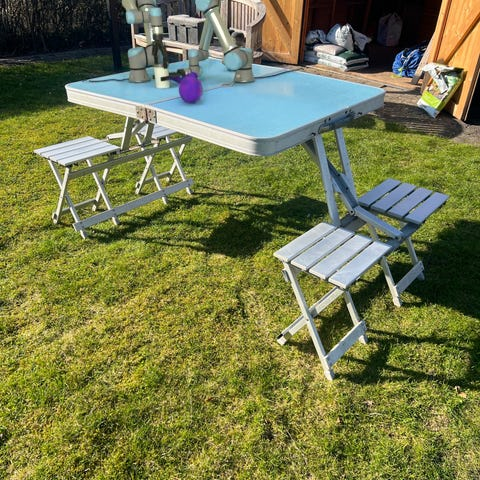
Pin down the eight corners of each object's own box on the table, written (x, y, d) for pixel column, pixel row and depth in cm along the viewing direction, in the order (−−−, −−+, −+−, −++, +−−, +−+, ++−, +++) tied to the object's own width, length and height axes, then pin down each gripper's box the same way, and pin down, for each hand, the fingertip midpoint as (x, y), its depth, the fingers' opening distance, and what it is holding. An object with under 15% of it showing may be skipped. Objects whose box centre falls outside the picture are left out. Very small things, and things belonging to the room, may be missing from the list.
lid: (168, 67, 309) (168, 64, 308) (152, 67, 308) (152, 64, 307) (169, 64, 318) (168, 61, 317) (153, 65, 317) (153, 62, 316)
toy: (192, 94, 296) (203, 108, 275) (166, 89, 289) (175, 104, 268) (197, 69, 288) (208, 82, 267) (170, 64, 281) (180, 77, 260)
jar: (167, 84, 326) (165, 62, 318) (172, 87, 318) (169, 64, 310) (154, 86, 322) (151, 63, 314) (158, 88, 314) (155, 66, 307)
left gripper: (144, 32, 309) (148, 66, 320) (161, 35, 292) (165, 70, 303) (153, 31, 313) (157, 64, 324) (171, 34, 296) (174, 69, 307)
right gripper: (192, 81, 321) (165, 86, 309) (175, 77, 336) (149, 81, 324) (191, 70, 317) (164, 74, 305) (174, 66, 332) (148, 70, 320)
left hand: (161, 67), depth 313 cm, fingers open, 12 cm apart
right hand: (156, 78), depth 314 cm, fingers closed on jar, 10 cm apart
